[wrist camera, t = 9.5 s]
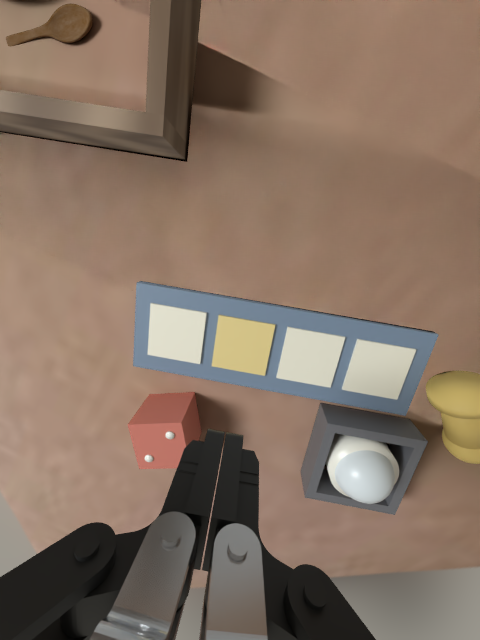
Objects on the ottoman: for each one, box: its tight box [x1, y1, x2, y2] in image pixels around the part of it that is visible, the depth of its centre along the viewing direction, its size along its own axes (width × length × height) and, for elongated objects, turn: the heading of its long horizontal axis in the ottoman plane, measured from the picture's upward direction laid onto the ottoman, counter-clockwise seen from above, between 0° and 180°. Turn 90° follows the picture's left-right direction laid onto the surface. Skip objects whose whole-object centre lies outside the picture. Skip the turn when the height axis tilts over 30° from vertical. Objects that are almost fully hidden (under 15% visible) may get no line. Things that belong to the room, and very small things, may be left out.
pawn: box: [426, 371, 480, 464], centre depth 22 cm, size 4×4×7 cm
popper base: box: [301, 403, 428, 515], centre depth 24 cm, size 8×8×3 cm
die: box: [128, 392, 202, 469], centre depth 24 cm, size 4×4×4 cm
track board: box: [133, 281, 438, 416], centre depth 22 cm, size 24×8×1 cm, turn 81°
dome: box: [326, 433, 399, 504], centre depth 23 cm, size 6×6×5 cm
